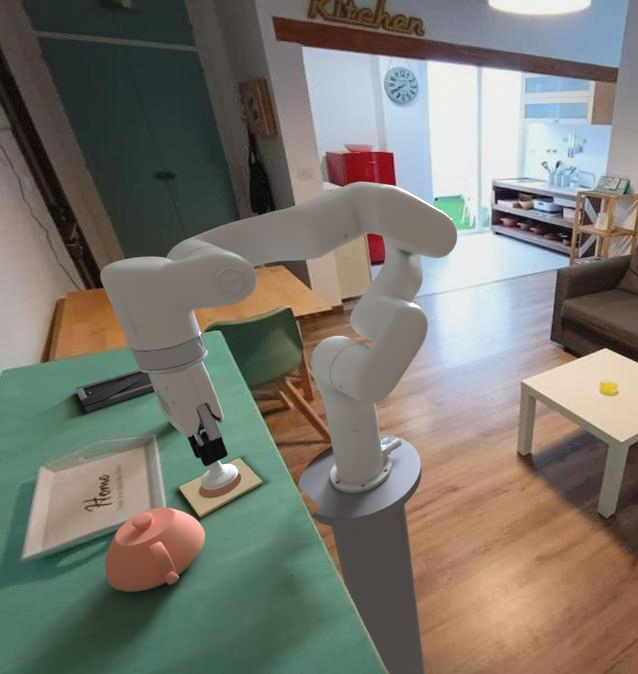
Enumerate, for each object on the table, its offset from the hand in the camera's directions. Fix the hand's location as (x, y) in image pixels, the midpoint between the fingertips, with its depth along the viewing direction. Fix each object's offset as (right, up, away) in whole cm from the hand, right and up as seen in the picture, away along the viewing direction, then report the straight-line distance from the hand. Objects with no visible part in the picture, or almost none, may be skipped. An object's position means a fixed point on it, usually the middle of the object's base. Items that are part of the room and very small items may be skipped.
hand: (211, 455), depth 64 cm
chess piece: (0, -4, +2) cm, 5 cm away
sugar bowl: (-10, -19, +3) cm, 22 cm away
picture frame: (-60, +4, +50) cm, 78 cm away
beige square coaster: (-12, -12, +19) cm, 25 cm away
